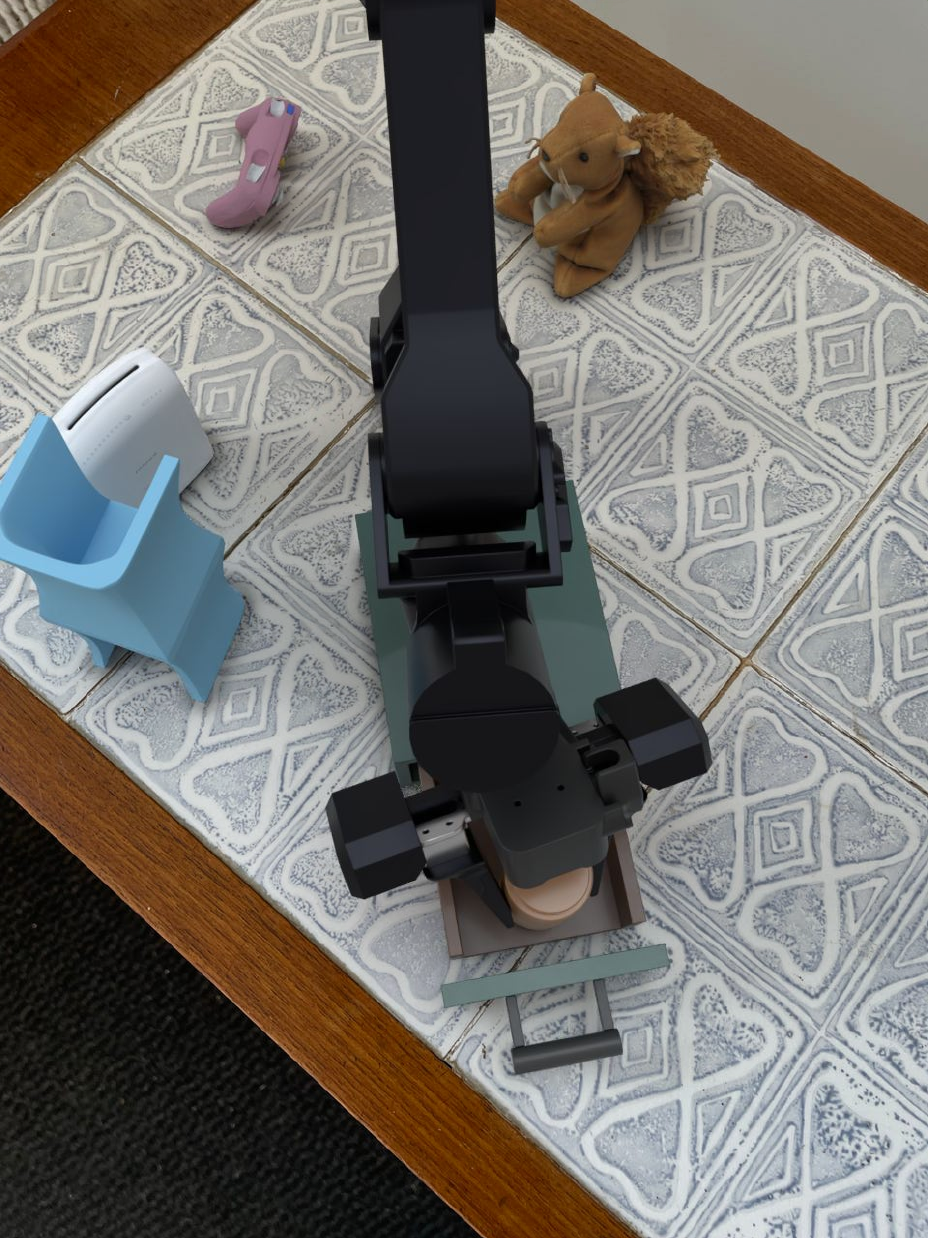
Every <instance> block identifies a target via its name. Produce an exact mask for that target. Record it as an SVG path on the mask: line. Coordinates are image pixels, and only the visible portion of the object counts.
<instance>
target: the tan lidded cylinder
mask: <svg viewBox="0 0 928 1238" xmlns="http://www.w3.org/2000/svg"><path fill="white" fill-rule="evenodd" d="M499 885H500V888H501V890H502V892H503V895H504V897H505V899H506V901H507V903H508V906H509V908H510V910H511V914H512V917H513V921H514V922H515V923H517V924H518V925H520V926H522V927H524V928H527V929H531V930H545V929H549V928H552V927H554V926H556V925H558V924H560V923H561V922H563V921H564V920H566V919H567V918H569V917H570V916H572V915H573V914H575V913H576V912H577V911H578V910H579V909H581V908H582V906H583V905H584V904H585V902H586V901H587V899H588V897H589V895H590V893H591V889H592V885H593V869H592V866H591V867H588V868H579V869H577V870H574V871H571V872H569V873H566V874H563V875H561V876H558V877H555V878H553V879H550V880H548V881H546V882H545V883H544V884H543V885H540V886H538V887H535V888H531V889H522V888H518V887H516V886H514V885H513V884H511V882H510V881H509V880H508V879H507V877H506V875H505V872H504V870H503V871H502V874H501V877H500V880H499Z"/></svg>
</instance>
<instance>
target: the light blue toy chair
mask: <svg viewBox="0 0 928 1238" xmlns="http://www.w3.org/2000/svg"><path fill="white" fill-rule="evenodd" d="M52 418H53V417H51V416H48V415H45V414H41V413H39V412H38V413H37V412H36V414H35V417H34V418H33V421H32V422H31V424H30V426H29V428H28V429H27V432H26V433H25V435H24V438H23V439H22V441H21V443H20V445H19V447H18V449H17V451H16V452H15V454H14V457H13V458H12V460H11V462H10V464H9V466H8V467H7V470H6V471H5V474H4V476H3V477H2V479H1V481H0V561H1V562H3V563H6V564H9V565H10V566H12V567H15V568H16V569H19V570H20V571H23V572H24V573H26V574H27V575H28V576H29V577H30V578H31V580H32V582H33V583H34V585H35V587H36V591H37V594H38V605H39V606H38V616H39V617H40V618H41V619H42V620H44V622H46V623H49V624H52V625H55V626H58V627H61V628H64V629H66V630H68V631H70V632H72V633H74V634H76V635H77V636H79V637H81V638H82V639H83V641H84V642H85V643H86V644H87V646H88V647H89V650H90V652H91V657H92V663H93V665H94V666H96V667H100V668H102V669H106V667H107V665H108V662H109V661H110V658H111V656H112V654H113V652H114V650H115V648H116V646H117V647H121V648H122V649H123V648H124V649H125V650H126V649H127V650H129V651H132V652H135V653H137V654H140V655H142V656H144V657H147V658H151V659H153V660H157V661H160V662H162V663H165V664H167V665H168V666H169V667H170V668H171V669H173V671H174V672H175V674H177V676H178V677H179V678H180V680H181V682H182V683H183V685H184V687H185V689H186V690H187V692H188V694H189V695H190V697H191V699H192V700H195V701H197V702H201V703H204V704H206V702H207V700H208V697H209V696H210V693H211V691H212V688H213V686H214V684H215V682H216V679H217V676H218V675H219V672H220V670H221V667H222V665H223V663H224V661H225V658H226V656H227V653H228V651H229V650H230V647H231V644H232V642H233V640H234V638H235V635H236V633H237V631H238V628H239V626H240V623H241V621H242V618H243V615H244V612H245V607H246V604H245V600H244V598H243V595H242V594H241V593H240V591H239V590H238V589H236V588H235V587H233V586H231V584H230V583H229V582H228V580H227V578H226V575H225V570H224V559H225V550H226V544H227V543H226V541H225V539H224V537H223V536H222V535H220V534H218V533H214V532H212V531H211V530H208V529H206V528H204V527H201V526H200V525H198V523H195V522H194V521H192V520H191V518H189V516H188V515H187V514H186V512H185V511H184V509H183V506H182V503H181V499H180V494H179V490H178V486H179V470H180V459H178V458H175V457H172V456H169V455H166V454H165V455H164V457H163V459H162V461H161V463H160V465H159V467H158V469H157V471H156V474H155V476H154V478H153V480H152V482H151V484H150V486H149V488H148V490H147V492H146V494H145V496H144V499H143V501H142V503H141V505H140V507H139V509H136V508H133V507H131V506H128V505H125V504H122V503H119V502H116V501H113V500H110V499H108V498H106V497H104V496H103V495H101V494H100V493H99V492H98V491H97V490H96V489H95V488H94V487H93V486H92V485H91V483H90V482H89V481H88V480H87V478H86V477H85V475H84V474H83V472H82V471H81V469H80V467H79V466H78V464H77V462H76V461H75V459H74V457H73V455H72V454H71V452H70V450H69V448H68V447H67V445H66V443H65V441H64V439H63V437H62V435H61V434H60V432H59V430H58V428H57V426H56V424H55V423H54V421H53V420H52Z"/></svg>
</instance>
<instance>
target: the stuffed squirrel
mask: <svg viewBox="0 0 928 1238" xmlns="http://www.w3.org/2000/svg"><path fill="white" fill-rule="evenodd" d="M597 83H598V81H597V76H596V73H594V72H586V73H584V74H583V76H582V78H581V82H580V87H579V90H578V95H576V97H574V98H573V99H572V100H570V101H569V102H568V104H567V105H566V106H565V107H564V109H563V110H562V111H561V113H560V115H559V118H558V121H557V123H556V125H555V126H554V127H552V128H551V129H550V130H549V131H548V132H547V133H546V134H545V135H544V136H543V138H538V137H530V138H528V139H527V140H525V141H524V145H527V144H529V143H530V142H532V141H535V143H534V145H533V146H532V147H531V148H530V150H529V152H528V153H527V154H526V155H525V158H526V159H528V160H527V161H526V162H524V164H522V165H521V166H519V167H518V168H517V169H516V170H515V171H514V172H513V173H512V175H511V176H510V179H509V182H508V185H507V188H506V189H504V190H502V191H500V192H499V193H497V195H495V196H494V198H493V201H494V208H495V209H496V211H497V212H498V213H499V214H501V215H503V216H505V217H507V218H509V219H512V220H515V221H518V222H521V223H523V224H526V225H530V226H532V227H533V226H534V227H533V230H532V231H533V232H532V234H533V238H534V240H535V243H536V244H537V246H538V247H539V248H543V249H550V250H551V251H553V252H555V253H556V254H555V255H556V256H555V260H554V268H553V286H554V293H555V294H556V295H557V296H559V297H561V298H564V299H565V298H569V297H572V296H576V295H578V294H580V293H583V291H585V290H587V289H589V288H591V287H592V286H594V285H596V284H597V283H599V282H601V281H603V280H604V279H606V278H607V277H608V276H610V275H611V274H612V273H613V272H614V270H615V269H616V268H617V267H618V264H619V263H620V261H621V259H622V258H623V256H624V254H625V253H626V252H627V250H628V248H629V247H630V245H631V243H632V241H633V240H634V238H635V237H636V235H637V233H638V231H639V229H640V226H642V227H643V228H645V227H648V226H649V225H650V224H655V223H658V221H659V218H660V216H662V215H663V214H664V213H665V212H666V210H667V208H669V206H671V205H672V203H673V201H674V200H678V201H679V202H683V201H685V202H686V201H688V199H689V198H690V197H691V196H696V195H698V194H699V195H700V196H702V197H704V193H703V188H704V187H705V184H704V182H708V181H710V180H711V179H709V178H708V179H707V174H708V173H709V170H710V169H711V167H712V166H714V164H715V163H714V162H713V161H711V160H715V161H718V162H721V159H720V158H721V157H722V154H721V153H718V154H717V152H718V149H717V148H713V147H714V142H713V141H710V140H709V139H708V136H706V135H702V134H701V133H700V132H699V131H697V130H696V129H693V128H692V126H691V124H692V123H690V122H688V121H687V120H685V119H684V120H683V119H681V118H679V117H678V116H676V117H674V112H671V113H670V114H668V113H666V112H659V113H656V112H650V113H649V112H648V113H646V114H645V115H643V116H642V115H639V112H637V113H636V114H634V115H632V116H631V120H628V119H627V120H624V119H623V118H622V116H621V114H620V113H619V112H618V111H617V109H616V107H615V106H614V104H613V103H612V101H611V100H610V99H609V98H608V97H607V96H606V95H605V94H603V93H601V92H600V91H598V90H596V88H597ZM538 148H539V149H538ZM537 149H538V153H537V155H535V156H533V157H532V158H531V155H532V154H533V152H534V151H535V150H537Z"/></svg>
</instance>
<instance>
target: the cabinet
mask: <svg viewBox="0 0 928 1238" xmlns="http://www.w3.org/2000/svg"><path fill="white" fill-rule="evenodd" d="M566 488H567V496H568V504H569V512H570V520H571V528H572V536H573V543H572V547H571V552H561V560H562V570H563V586H554V587H540V588H527V590H528V594H529V598H530V602H531V606H532V610H533V614H534V618H535V623H536V627H537V631H538V635H539V638H540V642H541V646H542V650H543V654H544V658H545V662H546V666H547V670H548V674H549V678H550V682H551V686H552V689H553V691H554V695H555V699H556V703H557V704H558V706H559V710H560V714H561V717H562V718H563V720H564V721H565V722H566V724H567V725H568V727H571V726H574V725H576V724H579V723H582V722H585V721H588V720H590V719H593V718H596V716H595V711H594V707H593V704H594V702H595V699H596V698H599V697H602V696H605V695H607V694H610V693H613V692H616V691H619V690H621V689H622V687H621V683H620V682H621V681H620V678H619V673H618V669H617V664H616V659H615V655H614V652H613V647H612V642H611V639H610V635H609V630H608V626H607V621H606V617H605V612H604V608H603V603H602V599H601V595H600V590H599V586H598V581H597V577H596V572H595V569H594V564H593V560H592V555H591V552H590V546H589V541H588V538H587V533H586V529H585V525H584V520H583V516H582V511H581V507H580V504H579V499H578V494H577V490H576V486H575V481H574V479H566ZM354 520H355V528H356V533H357V539H358V545H359V546H358V547H359V553H360V560H361V565H362V571H363V578H364V585H365V590H366V597H367V603H368V610H369V616H370V622H371V628H372V635H373V640H374V641H373V642H374V646H375V647H374V648H375V653H376V661H377V666H378V672H379V679H380V684H381V691H382V698H383V705H384V710H385V716H386V717H385V718H386V722H387V730H388V736H389V742H390V748H391V755H392V761H393V765H394V768H395V769H394V770H395V773H396V775H397V778H398V781H399V784H400V786H401V788H405V787H411V786H416V785H417V786H418V785H421V783H420V777H419V771H418V765H417V762H418V761H417V760H416V758H415V756H414V755H413V752H412V748H411V744H410V741H409V718H408V684H407V645H408V641H409V638H410V632H409V629H408V626H407V622H406V619H405V616H404V613H403V609H402V606H401V603H400V600H399V598H391V599H378V592H377V577H376V562H375V547H374V532H373V518H372V511H367V512H366V511H365V512H361V513H355V514H354ZM387 521H388V539H389V557H390V563H391V562H398V552H399V551H401V550H411V549H412V548H413V546H414V538H410V539H404V531H403V522H402V519H394V518H393V517H392V516H391V515H390V514H387ZM495 533H496V534H497V535H499V536H500V537H501V538H502V539H504V540H505V541H506V542H507V543H508V542H521V541H534V542H535V543H536V552H542V544H541V537H540V529H539V522H538V514H537V507H535V509H533V510H527V517H526V527H525V530H521V531H507V532H495Z"/></svg>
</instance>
